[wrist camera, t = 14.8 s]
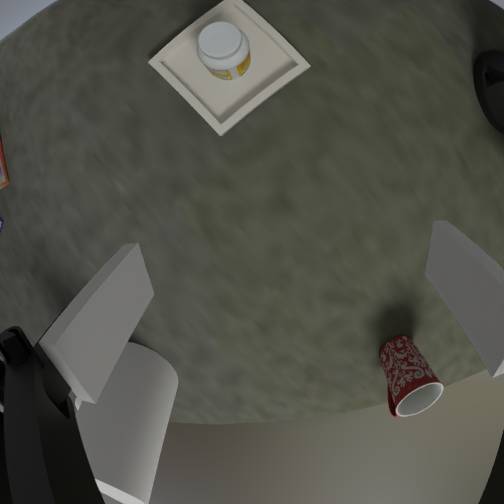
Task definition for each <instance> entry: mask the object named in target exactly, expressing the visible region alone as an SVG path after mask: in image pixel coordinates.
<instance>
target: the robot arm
mask: <svg viewBox="0 0 504 504" xmlns="http://www.w3.org/2000/svg"><path fill="white" fill-rule="evenodd" d="M474 81H475V88H476V92H477V96H478V99H479V102H480V105H481V107H482V109H483V111H484V113H485V115H486V117H487V119H488V120H489V121H490V123H491V124H492V125H493V126H494V127H495V128H496V129H497V130H498V131H500V132H502V133H504V52H503V51H500V50H490V51H485V52H483V53H481V54H480V55H479V56H478V58H477V60H476V63H475V68H474ZM425 276H426V277H427V279H428V280H429V281H430V283H431V284H432V285H433V287H434V288H435V289H436V291H437V292H438V293H439V295H440V296H441V298H442V299H443V300H444V302H445V303H446V305H447V306H448V307H449V309H450V310H451V312H452V313H453V315H454V316H455V318H456V319H457V321H458V322H459V324H460V325H461V327H462V328H463V330H464V331H465V333H466V334H467V336H468V338H469V339H470V341H471V342H472V344H473V346H474V347H475V349H476V351H477V352H478V354H479V356H480V357H481V359H482V361H483V363H484V364H485V366H486V368H487V370H488V371H489V373H490V375H491V377H492V378H493V377H496V376H498V375H500V374H503V373H504V269H503V268H502V267H501V266H500V265H498V264H497V263H496V262H495V261H494V260H493V259H492V258H491V257H490V256H489V255H488V254H486V253H485V252H484V251H483V250H482V249H481V248H480V247H478V246H477V245H476V244H475V243H474V242H473V241H471V240H470V239H469V238H468V237H467V236H465V235H464V234H463V233H462V232H460V231H459V230H458V229H457V228H455V227H454V226H453V225H452V224H450V223H449V222H448V221H433V229H432V236H431V243H430V249H429V255H428V260H427V266H426V271H425ZM153 296H154V291H153V288H152V285H151V282H150V279H149V276H148V273H147V270H146V267H145V263H144V260H143V257H142V254H141V250H140V247H139V243H133V244H124V245H123V246H122V247H121V248H120V249H119V250H118V251H117V252H116V253H115V254H114V256H113V257H112V258H111V259H110V260H109V261H108V262H107V263H106V264H105V265H104V266H103V267H102V268H101V269H100V270H99V271H98V272H97V274H96V275H95V276H94V277H93V278H92V279H91V280H90V281H89V282H88V283H87V285H86V286H85V287H84V288H83V289H82V290H81V291H80V292H79V294H78V295H77V296H76V297H75V298H74V299H73V300H72V302H71V303H70V304H69V305H68V306H66V307H65V308H64V309H63V311H62V312H61V313H60V314H59V315H58V318H56V319H55V320H54V322H53V324H51V325H50V326H49V328H48V329H47V330H46V331H45V333H44V334H43V335H42V337H41V338H40V339H39V340H38V342H37V343H36V344H35V346H34V347H32V345H31V343H30V342H29V340H28V339H27V337H26V335H25V334H24V332H23V330H22V329H21V328H20V327H19V326H13V327H10V328H8V329H6V330H5V331H3V332H2V333H1V334H0V356H1V357H2V359H3V360H4V361H1V360H0V404H1V405H2V406H3V407H4V412H3V413H2V412H0V504H105V502H104V500H103V498H102V495H101V493H100V491H99V488H98V486H97V483H96V480H95V478H94V475H93V472H92V470H91V467H90V464H89V461H88V458H87V455H86V452H85V449H84V445H83V442H82V439H81V435H80V431H79V428H78V424H77V420H76V416H75V412H74V407H73V403H72V401H71V398H70V397H69V396H68V394H69V392H70V390H71V389H72V391H73V392H74V393H75V394H76V396H77V397H78V398H79V399H80V400H83V401H87V402H91V403H95V404H96V402H97V400H98V398H99V396H100V394H101V392H102V390H103V388H104V386H105V384H106V382H107V380H108V378H109V376H110V374H111V372H112V370H113V368H114V366H115V364H116V362H117V361H118V359H119V357H120V355H121V353H122V351H123V349H124V347H125V346H126V344H127V342H128V340H129V338H130V336H131V334H132V333H133V331H134V329H135V327H136V325H137V324H138V322H139V320H140V318H141V317H142V315H143V313H144V311H145V310H146V308H147V306H148V304H149V303H150V301H151V299H152V297H153ZM479 504H504V430H503V434H502V438H501V442H500V446H499V449H498V452H497V456H496V459H495V462H494V465H493V468H492V471H491V474H490V477H489V479H488V482H487V485H486V487H485V490H484V492H483V494H482V497H481V499H480V502H479Z"/></svg>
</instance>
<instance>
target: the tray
mask: <svg viewBox="0 0 504 504" xmlns="http://www.w3.org/2000/svg"><path fill="white" fill-rule="evenodd" d="M220 21H224V22H229V23H231V24H233V25H235V26H236V27H237V28H238V29H240V30H241V31H243V32H244V33H245V35H246V36H247V38H248V40H249V45H250V57H251V62H250V66H249V68H248V70H247V71H246V73H245V74H244V75H242V76H241V77H239V78H237V79H234V80H221V79H218V78H216V77H215V76H213V75H212V74H211V73H210V72H209V70H208V69H207V68H206V67H205V66H204V64H203V63H202V62H201V61H200V59H199V57H198V55H197V44H198V38H199V35H200V33H201V31H202V30H203V29H204V28H205V27H206V26H208V25H209V24H211V23H214V22H220ZM148 63H149V64H150V65H152V66H153V67H154V68H155V69H156V70H157V71H158V72H159V73H160V74H161V75H162V76H163V77H164V78H165V79H166V80H167V81H168V82H169V83H170V84H171V85H172V86H173V87H174V88H175V89H176V90H177V91H178V92H179V93H180V94H181V95H182V96H183V97H184V98H185V99H186V100H187V101H188V102H189V104H190V105H191V106H192V107H193V108H194V109H195V110H196V111H197V112H198V113H199V114H200V115H201V116H202V117H203V118H204V119H205V120H206V121H207V122H208V123H209V125H210V126H211V127H212V128H213V129H214V130H215V131H216V132H217V133H218V134H219V135H220V136H223V135H224V134H225V133H226V132H227V131H229V130H230V129H231V128H232V127H233V126H235V125H236V124H237V123H238V122H239V121H240V120H242V119H243V118H244V117H245V116H247V115H248V114H249V113H250V112H252V111H253V110H254V109H255V108H256V107H258V106H259V105H260V104H262V103H263V102H264V101H265V100H267V99H268V98H269V97H271V96H272V95H273V94H275V93H276V92H277V91H278V90H280V89H281V88H283V87H284V86H285V85H287V84H288V83H289V82H291V81H292V80H293V79H295V78H296V77H298V76H299V75H300V74H302V73H303V72H305V71H306V70H308V69H309V67H310V65H309V64H308V63H307V62H306V60H305V59H304V58H303V57H302V56H301V55H300V54H299V53H298V52H297V51H296V50H295V49H294V48H293V47H292V46H291V45H290V44H289V43H288V42H287V41H286V40H285V39H284V38H283V37H282V36H281V35H280V34H279V33H278V32H277V31H276V30H275V29H274V28H273V27H272V26H271V25H270V24H269V23H268V22H266V21H265V20H264V19H263V18H262V17H261V16H260V15H259V14H258V13H256V12H255V11H254V10H253V9H252V8H251V7H249V6H248V5H247V4H246V3H245V2H243V1H242V0H224V1H222V2H221V3H219V4H218V5H217V6H215V7H214V8H212V9H211V10H210V11H208V12H207V13H205V14H204V15H203V16H201V17H200V18H199V19H197V20H196V21H195V22H194V23H192V24H191V25H190V26H188V27H187V28H186V29H185V30H184V31H182V32H181V33H180V34H179V35H178V36H176V37H175V38H174V39H173V40H172V41H170V42H169V43H168V44H167V45H166V46H165V47H164V48H163V49H162V50H160V51H159V52H158V53H157V54H156V55H155V56H154V57H153V58H152V59H151V60H150V61H149V62H148Z"/></svg>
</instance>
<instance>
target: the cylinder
mask: <svg viewBox="0 0 504 504" xmlns="http://www.w3.org/2000/svg"><path fill="white" fill-rule="evenodd" d="M177 387H178V377H177V373H176V372H175V370H174V368H173V367H172V366H171V365H170V364H169V362H168V361H167V360H166V359H165V358H163V357H162V356H160V355H159V354H158V353H156V352H155V351H153V350H151V349H149V348H147V347H145V346H142V345H139V344H136V343H132V342H127V344H126V346H125V347H124V349H123V351H122V353H121V355H120V357H119V359H118V361H117V362H116V364H115V366H114V368H113V370H112V372H111V374H110V376H109V378H108V380H107V382H106V384H105V386H104V388H103V390H102V392H101V394H100V396H99V398H98V400H97V402H96V404H95V403H91V402H87V401H83V400H80V399H79V398H78V397H77V398H76V401H75V405H76V408H77V410H78V411H77V413H76V415H75V416H76V420H77V424H78V428H79V431H80V435H81V439H82V442H83V445H84V449H85V452H86V455H87V458H88V461H89V464H90V467H91V470H92V472H93V475H94V478H95V480H96V483H97V486H98V488H99V491H101V492H103V493H105V494H107V495H108V496H110V497H112V498H114V499H116V500H118V501H120V502H122V503H124V504H149V499H150V495H151V491H152V486H153V481H154V478H155V473H156V469H157V465H158V461H159V456H160V453H161V448H162V444H163V440H164V436H165V432H166V428H167V425H168V421H169V417H170V413H171V409H172V406H173V402H174V398H175V394H176V391H177Z"/></svg>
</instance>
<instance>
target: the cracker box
mask: <svg viewBox="0 0 504 504" xmlns="http://www.w3.org/2000/svg"><path fill="white" fill-rule="evenodd" d="M8 184H9V180H8V176H7V172H6V166H5V161H4V156H3V150H2V145H1V138H0V189H1V188H3V187H5V186H7V185H8Z"/></svg>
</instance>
